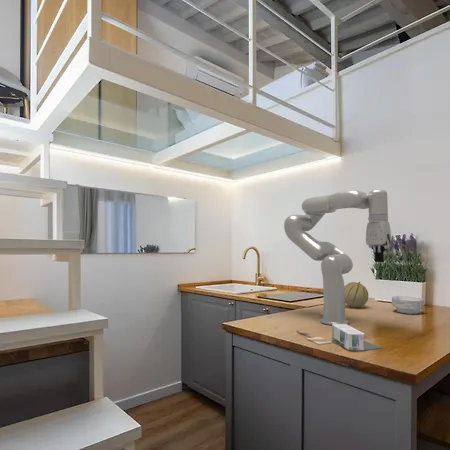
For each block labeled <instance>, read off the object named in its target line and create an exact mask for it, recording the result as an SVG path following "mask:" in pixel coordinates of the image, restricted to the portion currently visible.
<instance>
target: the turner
mask: <svg viewBox="0 0 450 450" xmlns="http://www.w3.org/2000/svg"><path fill="white" fill-rule="evenodd" d="M296 333H297V334H299V335H302V336H304V337H305V339H306V340H307V341H309V342H311V343H314V344H316V345H319V346H321V345H328V344H333V343H332V342H331V341H332V340H328V339H326V338H323V337H322V336H321V337H320V336H315V335H312V334H310V333H307V332H305V331H302V330H296Z"/></svg>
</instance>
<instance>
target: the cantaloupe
mask: <svg viewBox="0 0 450 450" xmlns="http://www.w3.org/2000/svg"><path fill="white" fill-rule="evenodd" d="M344 288H345V305H347V306H349V307H351V308H354V309H355V308H362V307H364V306H365V305H366V304H367V302H368V301H369V291H368V288H366V286H365V285H363V284H362V283H361V281H358V282H355V281H351V282H348V283H346V284H344Z"/></svg>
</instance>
